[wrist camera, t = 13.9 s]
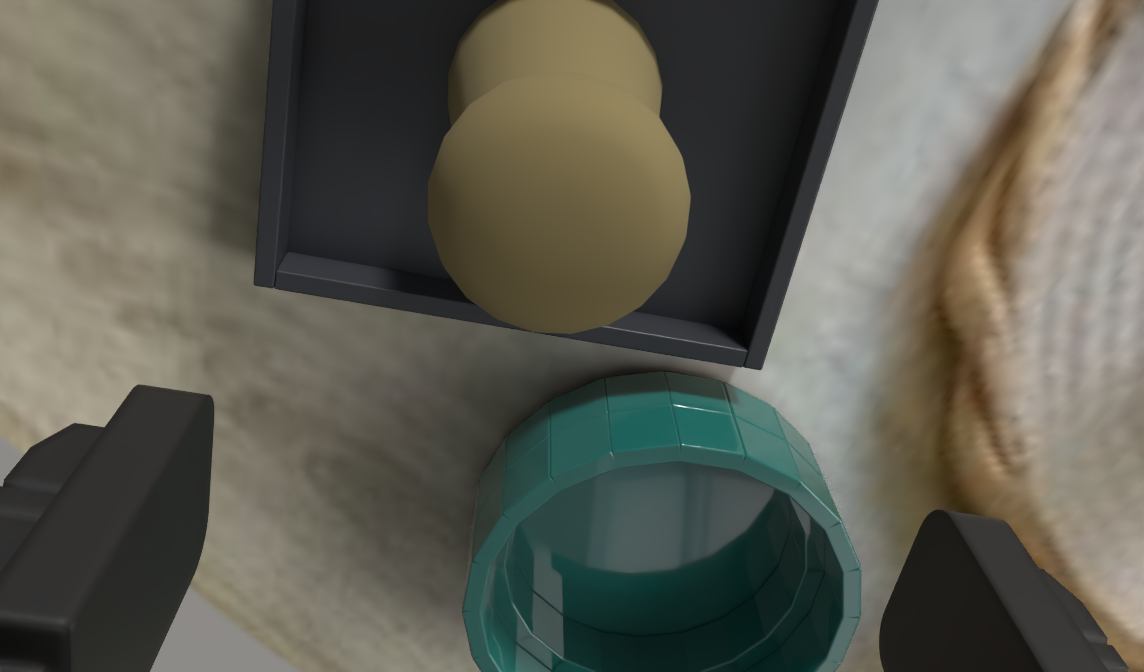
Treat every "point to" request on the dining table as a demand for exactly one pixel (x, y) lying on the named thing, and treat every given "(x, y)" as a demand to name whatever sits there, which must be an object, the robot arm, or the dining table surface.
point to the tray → (421, 120)
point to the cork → (557, 167)
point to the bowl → (658, 538)
